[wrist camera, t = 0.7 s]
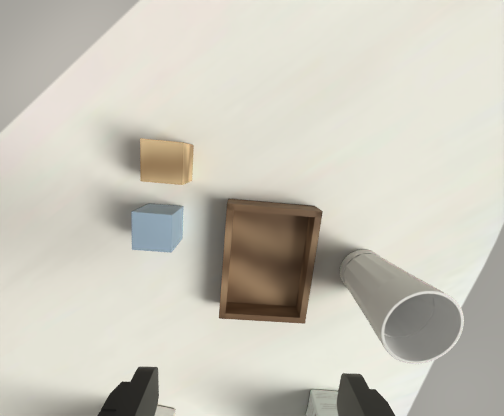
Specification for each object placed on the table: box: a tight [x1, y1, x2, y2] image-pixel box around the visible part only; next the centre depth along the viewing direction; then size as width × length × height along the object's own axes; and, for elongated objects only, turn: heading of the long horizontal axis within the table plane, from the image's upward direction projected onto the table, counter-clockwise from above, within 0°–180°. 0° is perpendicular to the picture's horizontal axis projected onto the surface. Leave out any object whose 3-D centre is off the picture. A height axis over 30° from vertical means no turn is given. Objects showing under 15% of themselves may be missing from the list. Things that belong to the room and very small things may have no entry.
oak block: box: [140, 138, 193, 185], centre depth 28 cm, size 4×4×5 cm
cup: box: [340, 249, 464, 364], centre depth 28 cm, size 8×8×12 cm
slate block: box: [132, 203, 183, 252], centre depth 29 cm, size 4×4×5 cm
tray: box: [219, 199, 323, 323], centre depth 32 cm, size 16×12×3 cm
